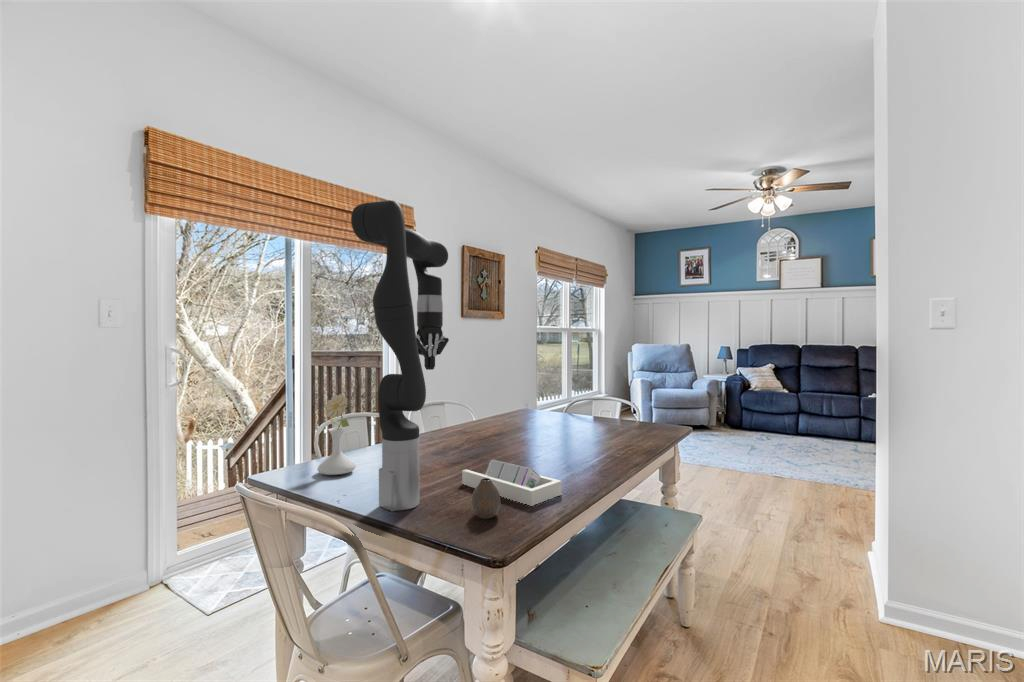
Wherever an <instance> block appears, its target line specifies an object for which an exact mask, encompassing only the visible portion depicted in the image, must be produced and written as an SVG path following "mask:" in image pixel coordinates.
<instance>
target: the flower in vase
mask: <svg viewBox="0 0 1024 682" xmlns="http://www.w3.org/2000/svg"><path fill="white" fill-rule="evenodd" d="M325 406H326V407H325V416H326V417H328V418H329V419H330V421H331V422H332V423H334V424H336V425H338V427H332V428H328V429H327V430H328V432H329V433H330V435H331V439H332V452H331V453H330V455H329V456H327V458H325V459H324V460H323V461H322V462H320V463H319V465H318V467H317V472H318V473H319V474H321V475H326V476H339V475H344V474H348V473H350V472H353V471H354V470H355V469H356V468H357V466H356V463H355V461H353V460H352V459H350V458H349V457H348V456H346V455H345V454H344V453H343V452H342V449H341V447H342V446H341V442H342V435H343V433H344V432H345V430H346V428H347V427H349V426H350V425H349V422H348V421H349V420H348V419H347V418H344V419H343V412H345V411H346V408H348V398H347V397H346V396H344V395H343V394H341V393H340V394H338V395H337V394H335V395H334V396H332V397H331V399H328V401H327V404H326V405H325ZM340 416H341V418H340V419H341V420H340V422H339V421H337V420H335V418H336V417H337V418H338V417H340ZM345 427H346V428H345Z"/></svg>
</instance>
